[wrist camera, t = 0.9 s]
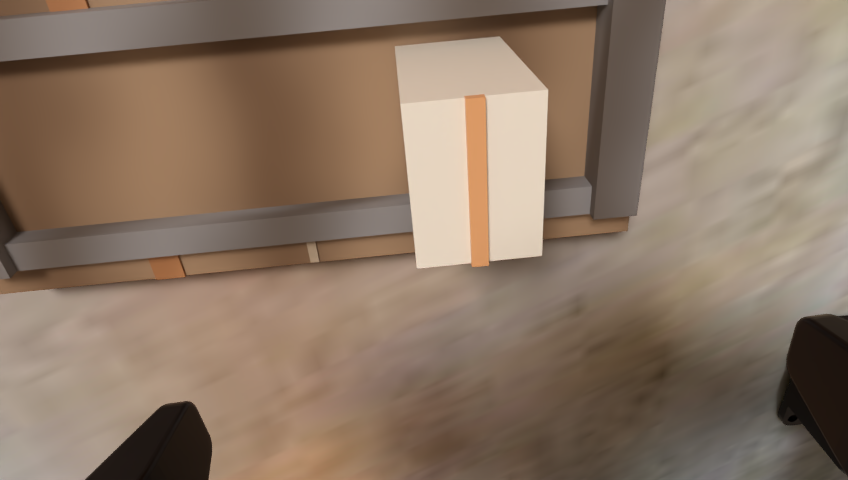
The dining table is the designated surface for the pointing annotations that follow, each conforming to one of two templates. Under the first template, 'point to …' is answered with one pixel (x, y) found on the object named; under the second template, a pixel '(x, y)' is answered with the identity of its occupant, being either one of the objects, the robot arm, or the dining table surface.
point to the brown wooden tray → (279, 127)
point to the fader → (473, 151)
